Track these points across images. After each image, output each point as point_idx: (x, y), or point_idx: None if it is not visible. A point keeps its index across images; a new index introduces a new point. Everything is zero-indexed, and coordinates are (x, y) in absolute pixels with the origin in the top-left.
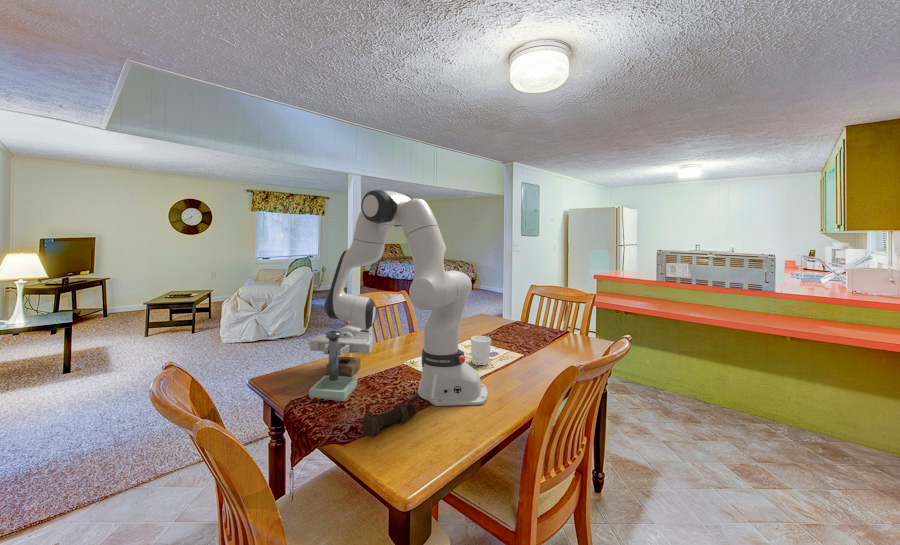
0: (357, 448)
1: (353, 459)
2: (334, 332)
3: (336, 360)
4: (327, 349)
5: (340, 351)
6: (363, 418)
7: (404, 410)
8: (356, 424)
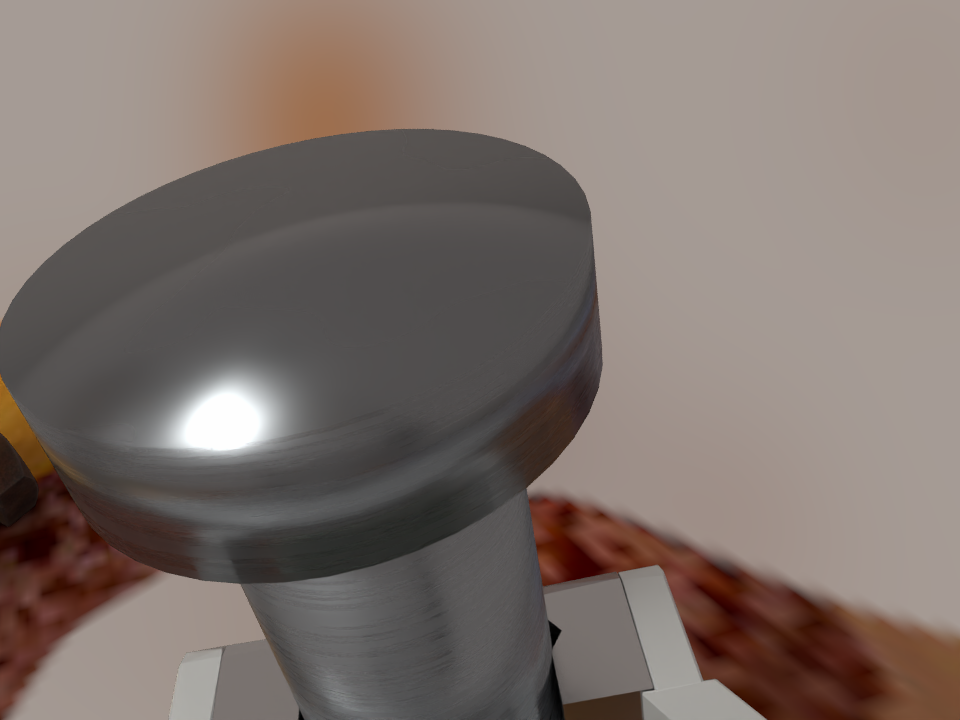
0: None
1: None
2: (274, 277)
3: None
4: (561, 584)
5: (214, 651)
6: (2, 435)
7: None
8: (101, 555)
